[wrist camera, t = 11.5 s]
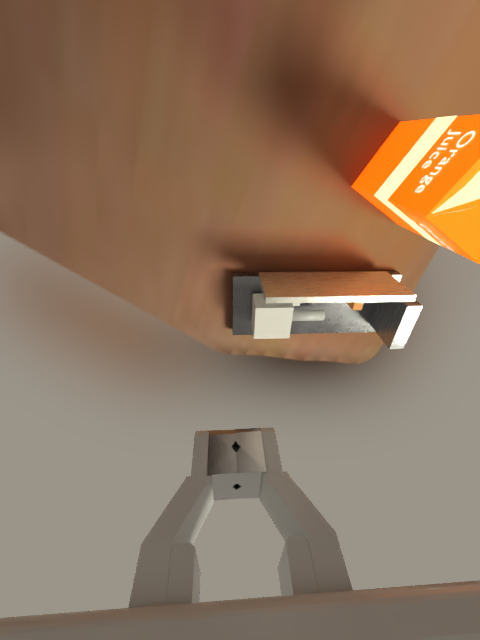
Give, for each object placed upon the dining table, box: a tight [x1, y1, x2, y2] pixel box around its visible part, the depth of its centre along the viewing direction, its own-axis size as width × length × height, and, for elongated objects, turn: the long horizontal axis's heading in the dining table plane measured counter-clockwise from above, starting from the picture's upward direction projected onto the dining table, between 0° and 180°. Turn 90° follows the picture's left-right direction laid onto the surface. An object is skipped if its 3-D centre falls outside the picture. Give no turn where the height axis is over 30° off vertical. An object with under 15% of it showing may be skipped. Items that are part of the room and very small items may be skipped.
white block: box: [251, 293, 325, 339], centre depth 38 cm, size 10×7×4 cm, turn 89°
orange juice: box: [351, 114, 480, 264], centre depth 24 cm, size 8×9×20 cm
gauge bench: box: [233, 271, 423, 349], centre depth 38 cm, size 24×11×8 cm, turn 89°
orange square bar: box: [346, 302, 364, 310], centre depth 36 cm, size 1×1×5 cm
